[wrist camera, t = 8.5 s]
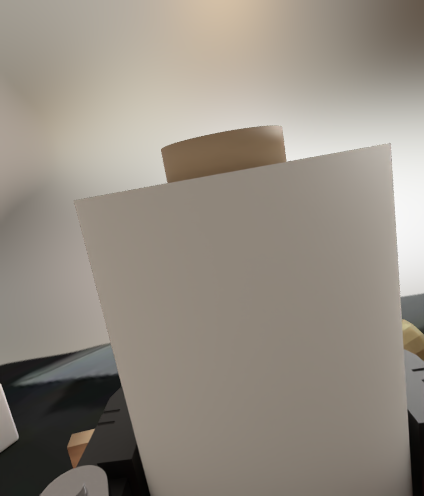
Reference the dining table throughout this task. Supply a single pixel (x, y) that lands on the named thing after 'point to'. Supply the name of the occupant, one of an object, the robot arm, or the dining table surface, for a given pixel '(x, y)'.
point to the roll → (258, 319)
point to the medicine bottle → (6, 424)
